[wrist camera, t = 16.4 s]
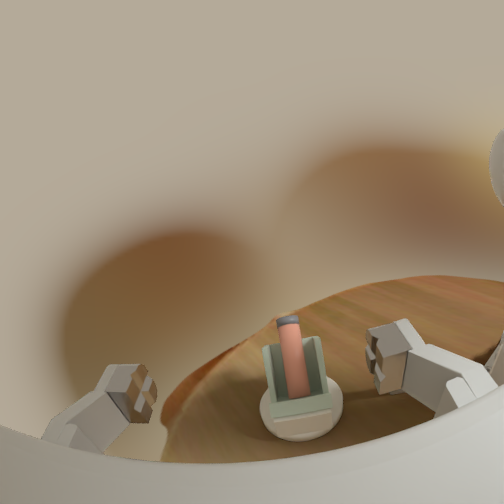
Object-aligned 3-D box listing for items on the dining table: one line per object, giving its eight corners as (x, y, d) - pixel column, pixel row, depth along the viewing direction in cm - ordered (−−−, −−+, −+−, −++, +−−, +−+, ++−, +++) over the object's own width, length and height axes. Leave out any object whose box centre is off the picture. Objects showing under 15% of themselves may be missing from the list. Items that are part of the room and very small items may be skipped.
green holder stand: (261, 386, 48) (245, 333, 44) (334, 373, 47) (330, 317, 42) (262, 447, 36) (242, 397, 31) (350, 431, 35) (352, 378, 30)
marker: (302, 395, 40) (289, 321, 45) (315, 393, 37) (302, 315, 43) (283, 399, 38) (272, 321, 44) (297, 397, 36) (283, 315, 41)
